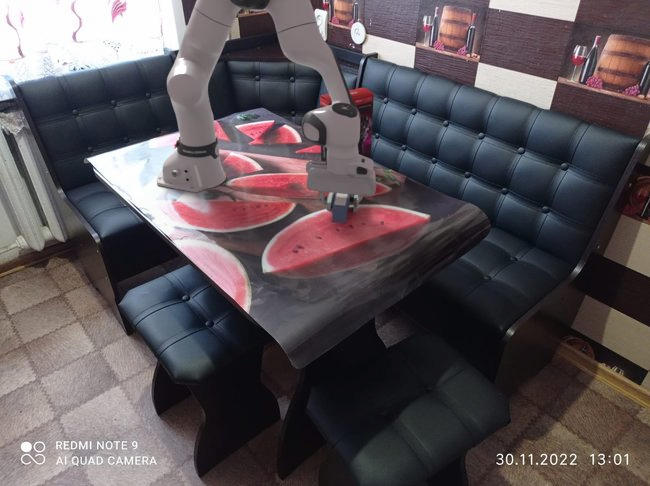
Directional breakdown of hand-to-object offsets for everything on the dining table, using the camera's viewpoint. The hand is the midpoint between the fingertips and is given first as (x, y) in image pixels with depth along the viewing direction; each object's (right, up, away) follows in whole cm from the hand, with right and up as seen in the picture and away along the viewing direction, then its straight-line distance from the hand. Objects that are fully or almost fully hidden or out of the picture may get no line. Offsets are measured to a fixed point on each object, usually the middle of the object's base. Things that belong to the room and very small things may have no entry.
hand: (340, 204), depth 144 cm
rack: (+1, +1, +7) cm, 7 cm away
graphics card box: (+2, +14, +25) cm, 28 cm away
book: (0, -3, +2) cm, 3 cm away
